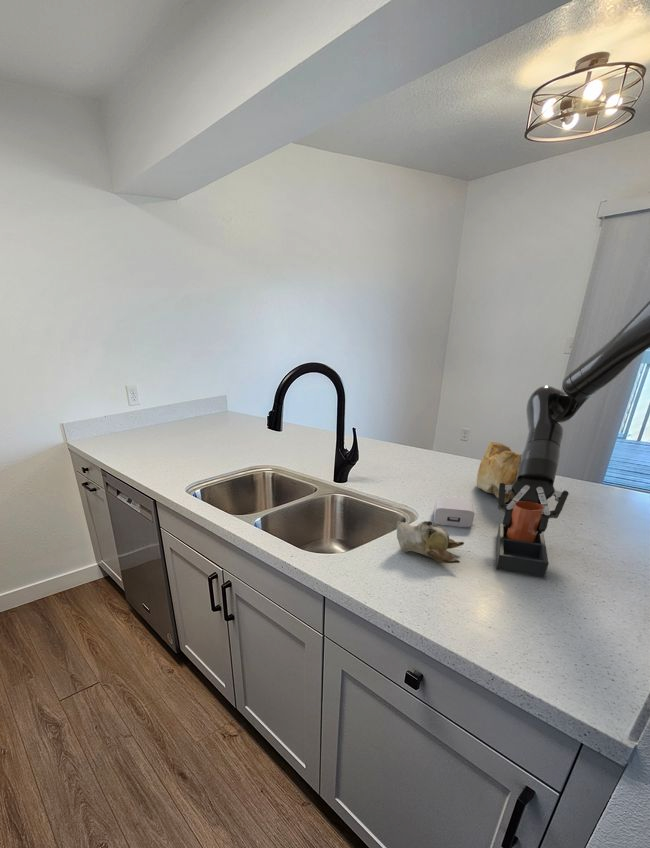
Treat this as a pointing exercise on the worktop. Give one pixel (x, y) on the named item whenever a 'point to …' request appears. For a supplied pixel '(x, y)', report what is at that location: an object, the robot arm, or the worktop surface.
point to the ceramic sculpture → (427, 541)
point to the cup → (525, 521)
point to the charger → (454, 511)
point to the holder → (521, 555)
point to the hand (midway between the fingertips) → (523, 529)
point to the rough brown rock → (498, 469)
